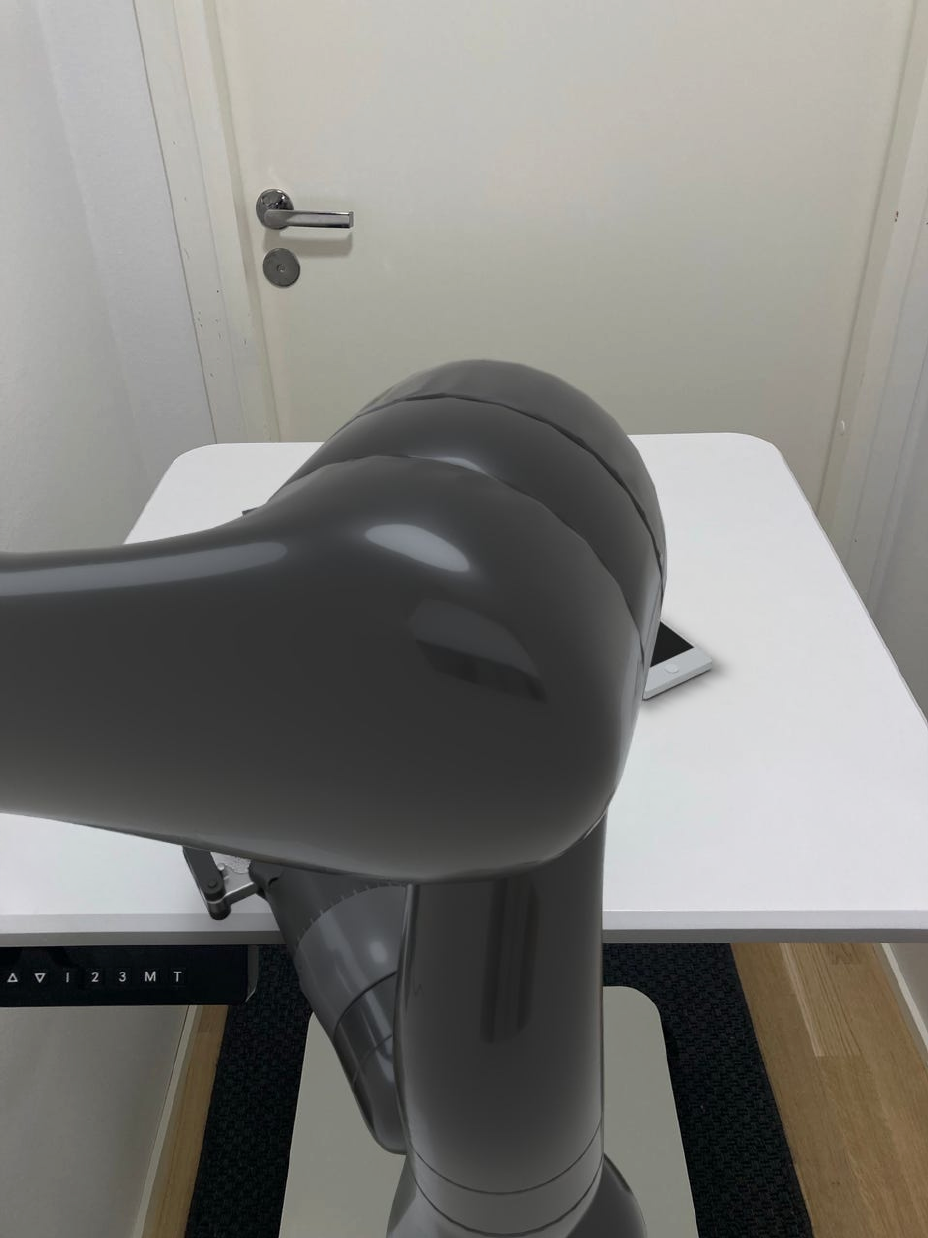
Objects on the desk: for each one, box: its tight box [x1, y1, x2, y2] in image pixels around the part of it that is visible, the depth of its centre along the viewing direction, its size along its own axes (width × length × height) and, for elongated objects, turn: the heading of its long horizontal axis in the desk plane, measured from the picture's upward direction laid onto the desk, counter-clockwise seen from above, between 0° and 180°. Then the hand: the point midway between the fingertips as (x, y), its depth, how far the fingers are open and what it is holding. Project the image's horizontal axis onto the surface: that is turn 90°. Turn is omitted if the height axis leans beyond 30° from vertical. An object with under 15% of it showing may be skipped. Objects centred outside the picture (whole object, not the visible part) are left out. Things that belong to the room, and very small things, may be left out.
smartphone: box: [642, 618, 713, 700], centre depth 81 cm, size 7×16×1 cm, turn 31°
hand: (270, 748), depth 63 cm, fingers open, 8 cm apart
